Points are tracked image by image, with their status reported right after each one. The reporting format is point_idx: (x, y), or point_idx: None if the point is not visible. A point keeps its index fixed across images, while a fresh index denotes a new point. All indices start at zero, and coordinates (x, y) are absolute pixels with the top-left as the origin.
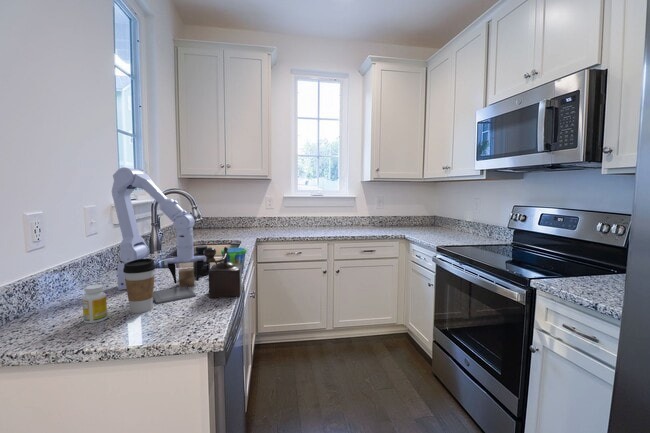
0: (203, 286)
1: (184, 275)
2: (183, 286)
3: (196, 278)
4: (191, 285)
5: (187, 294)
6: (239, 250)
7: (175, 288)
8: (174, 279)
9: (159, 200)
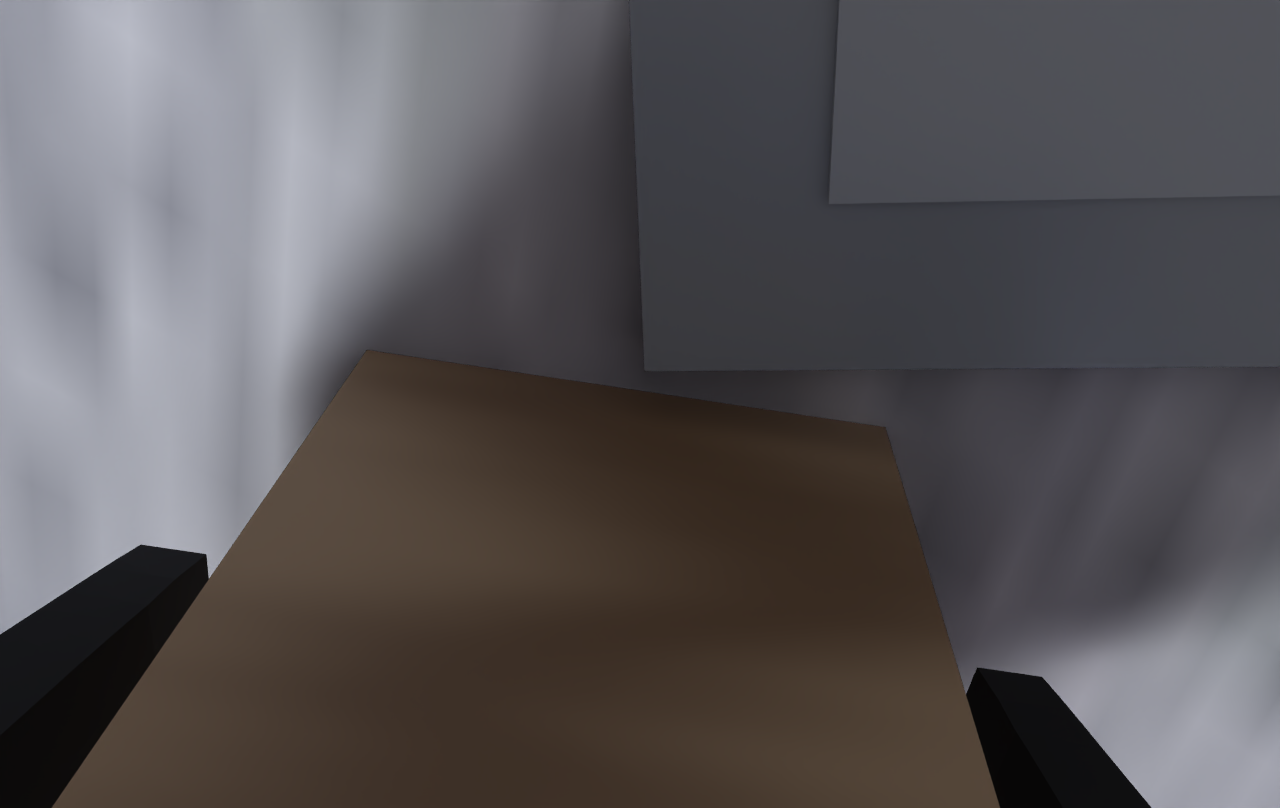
0: (14, 92)
1: (702, 795)
2: (783, 359)
3: None
4: (460, 387)
5: None
6: None
7: (1150, 276)
8: (1135, 804)
9: None
